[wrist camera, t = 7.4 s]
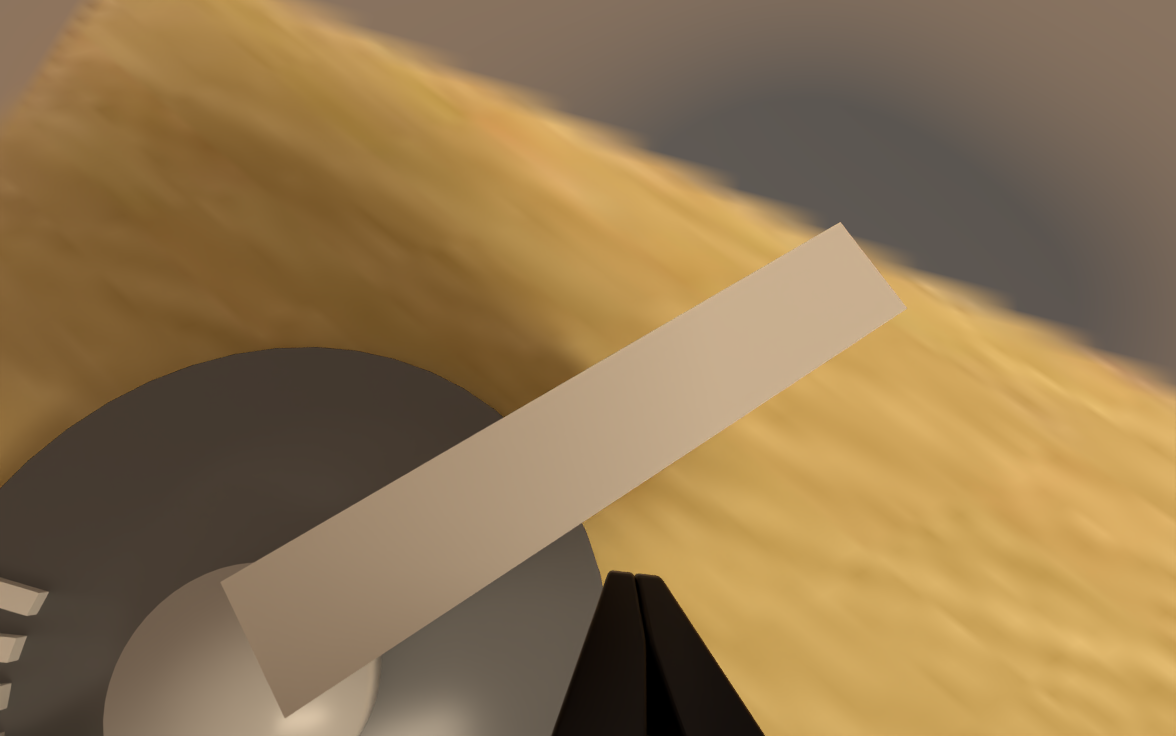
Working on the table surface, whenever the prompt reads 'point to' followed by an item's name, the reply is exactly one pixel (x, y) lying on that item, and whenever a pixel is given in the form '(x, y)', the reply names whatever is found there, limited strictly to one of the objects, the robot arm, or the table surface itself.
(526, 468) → the rotary selector knob
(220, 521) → the tuner dial
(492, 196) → the table surface
